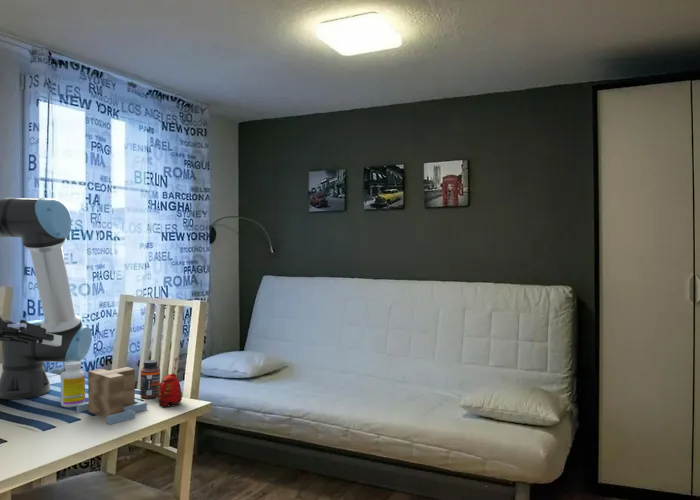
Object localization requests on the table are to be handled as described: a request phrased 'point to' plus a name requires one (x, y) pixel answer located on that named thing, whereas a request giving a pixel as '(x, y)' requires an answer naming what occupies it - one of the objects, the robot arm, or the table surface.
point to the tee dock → (127, 414)
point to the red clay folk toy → (170, 390)
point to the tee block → (110, 391)
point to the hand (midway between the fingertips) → (59, 341)
